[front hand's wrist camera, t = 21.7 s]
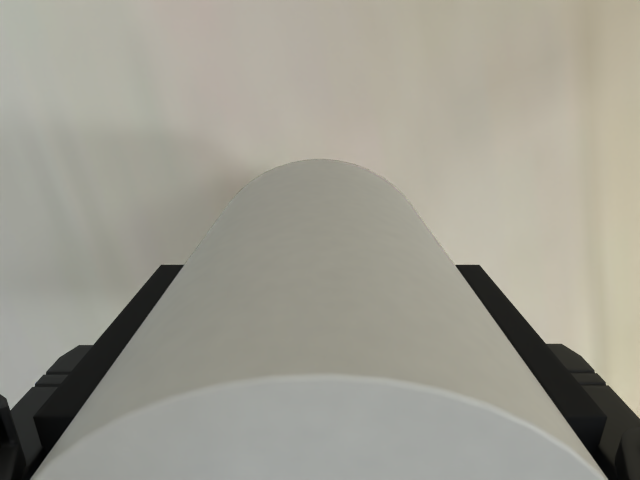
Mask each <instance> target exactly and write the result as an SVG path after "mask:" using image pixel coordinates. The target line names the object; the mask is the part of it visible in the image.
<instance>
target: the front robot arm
mask: <svg viewBox="0 0 640 480" xmlns="http://www.w3.org/2000/svg"><path fill="white" fill-rule="evenodd" d="M183 266H184V265H161V266H160V267H159V268H158V269H157V270H156V271H155V273H154V274H153V275H152V276H151V277H150V279H149V280H148V281H147V282H146V283H145V285H144V286H143V287H142V288H141V289H140V290H139V292H138V293H137V294H136V295H135V296H134V298H133V299H132V300H131V301H130V302H129V304H128V305H127V306H126V307H125V308H124V309H123V311H122V312H121V313H120V314H119V315H118V317H117V318H116V319H115V320H114V321H113V322H112V324H111V325H110V326H109V327H108V328H107V330H106V331H105V332H104V333H103V334H102V336H101V337H100V338H99V339H98V340H97V341H96V343H95V344H94V345H79V346H77V347H75V348H74V349H72V350H71V351H69V352H68V353H66V354H64V355H63V356H61V357H60V358H59V359H58V360H57V361H56V362H55V363H54V364H53V365H52V366H51V367H50V368H49V369H48V371H47V372H46V375H43V376H42V377H41V378H40V379H39V380H38V381H37V382H36V384H35V387H32V388H31V389H30V390H29V391H28V392H27V393H26V394H25V395H24V396H23V398H22V399H21V400H20V401H19V402H18V403H17V404H16V405H15V406H14V407H13V408H12V409H11V411H10V409H9V406H8V403H7V399H6V398H5V397H3V396H2V395H0V480H30V479H31V477H32V476H33V475H34V473H35V472H36V470H37V469H38V468H39V466H40V465H41V464H42V462H43V461H44V459H45V458H46V457H47V455H48V454H49V452H50V451H51V450H52V448H53V447H54V445H55V444H56V443H57V441H58V440H59V439H60V437H61V436H62V434H63V433H64V432H65V430H66V429H67V427H68V426H69V425H70V423H71V422H72V420H73V419H74V418H75V416H76V415H77V413H78V412H79V411H80V409H81V408H82V407H83V405H84V404H85V402H86V401H87V400H88V398H89V397H90V395H91V394H92V393H93V391H94V390H95V388H96V387H97V386H98V384H99V383H100V382H101V380H102V379H103V377H104V376H105V375H106V373H107V372H108V370H109V369H110V368H111V366H112V365H113V363H114V362H115V361H116V359H117V358H118V356H119V355H120V354H121V352H122V351H123V350H124V348H125V347H126V345H127V344H128V343H129V341H130V340H131V338H132V337H133V336H134V334H135V333H136V331H137V330H138V329H139V327H140V326H141V325H142V323H143V322H144V320H145V319H146V318H147V316H148V315H149V313H150V312H151V311H152V309H153V308H154V306H155V305H156V304H157V302H158V301H159V299H160V298H161V297H162V295H163V294H164V293H165V291H166V290H167V288H168V287H169V286H170V284H171V283H172V281H173V280H174V279H175V277H176V276H177V274H178V273H179V272H180V270H181V269H182V268H183ZM455 266H456V267H457V269H458V270H459V271H460V273H461V274H462V276H463V277H464V278H465V280H466V281H467V283H468V284H469V285H470V287H471V288H472V290H473V291H474V292H475V294H476V295H477V297H478V298H479V299H480V301H481V302H482V304H483V305H484V306H485V308H486V309H487V311H488V312H489V313H490V315H491V316H492V318H493V319H494V320H495V322H496V323H497V325H498V326H499V327H500V329H501V330H502V332H503V333H504V334H505V336H506V337H507V339H508V340H509V341H510V343H511V344H512V346H513V347H514V348H515V350H516V351H517V353H518V354H519V355H520V357H521V358H522V360H523V361H524V362H525V364H526V365H527V367H528V368H529V369H530V371H531V372H532V374H533V375H534V376H535V378H536V379H537V381H538V382H539V383H540V385H541V386H542V388H543V389H544V390H545V392H546V393H547V395H548V396H549V397H550V399H551V400H552V402H553V403H554V404H555V406H556V407H557V409H558V410H559V411H560V413H561V414H562V416H563V417H564V418H565V420H566V421H567V423H568V424H569V425H570V427H571V428H572V430H573V431H574V432H575V434H576V435H577V437H578V438H579V439H580V441H581V442H582V444H583V445H584V446H585V448H586V449H587V451H588V452H589V453H590V455H591V456H592V457H593V459H594V460H595V462H596V463H597V464H598V466H599V467H600V469H601V470H602V471H603V473H604V474H605V476H606V477H607V478H608V480H640V419H639V418H638V417H637V416H636V414H635V413H634V412H633V411H632V410H631V409H630V408H629V407H628V406H627V405H626V404H625V403H624V402H623V401H622V399H621V398H620V397H619V396H618V395H617V394H616V393H615V392H614V391H613V390H612V389H611V388H610V387H609V386H606V382H605V381H604V380H603V379H602V378H601V377H600V376H599V375H598V374H597V373H595V372H594V369H593V368H592V367H591V366H590V365H589V364H588V363H587V362H586V361H585V360H584V359H583V358H582V357H581V356H580V355H578V354H577V353H575V352H574V351H572V350H571V349H569V348H567V347H566V346H564V345H563V344H546V343H545V342H544V341H543V340H542V339H541V338H540V336H539V335H538V334H537V333H536V332H535V330H534V329H533V328H532V327H531V326H530V324H529V323H528V322H527V321H526V320H525V319H524V317H523V316H522V315H521V314H520V313H519V311H518V310H517V309H516V308H515V307H514V306H513V304H512V303H511V302H510V301H509V300H508V298H507V297H506V296H505V295H504V294H503V292H502V291H501V290H500V289H499V288H498V287H497V285H496V284H495V283H494V282H493V281H492V279H491V278H490V277H489V276H488V275H487V274H486V272H485V271H484V270H483V269H482V268H481V266H480V265H455Z"/></svg>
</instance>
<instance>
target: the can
mask: <svg viewBox="0 0 640 480" xmlns="http://www.w3.org/2000/svg"><path fill="white" fill-rule="evenodd" d="M30 480H608V478H607V477H606V476H605V474H604V473H603V471H602V470H601V469H600V467H599V466H598V464H597V463H596V462H595V460H594V459H593V457H592V456H591V455H590V453H589V452H588V451H587V449H586V448H585V446H584V445H583V444H582V442H581V441H580V439H579V438H578V437H577V435H576V434H575V432H574V431H573V430H572V428H571V427H570V425H569V424H568V423H567V421H566V420H565V418H564V417H563V416H562V414H561V413H560V411H559V410H558V409H557V407H556V406H555V404H554V403H553V402H552V400H551V399H550V397H549V396H548V395H547V393H546V392H545V390H544V389H543V388H542V386H541V385H540V383H539V382H538V381H537V379H536V378H535V376H534V375H533V374H532V372H531V371H530V369H529V368H528V367H527V365H526V364H525V362H524V361H523V360H522V358H521V357H520V355H519V354H518V353H517V351H516V350H515V348H514V347H513V346H512V344H511V343H510V341H509V340H508V339H507V337H506V336H505V334H504V333H503V332H502V330H501V329H500V327H499V326H498V325H497V323H496V322H495V320H494V319H493V318H492V316H491V315H490V313H489V312H488V311H487V309H486V308H485V306H484V305H483V304H482V302H481V301H480V299H479V298H478V297H477V295H476V294H475V292H474V291H473V290H472V288H471V287H470V285H469V284H468V283H467V281H466V280H465V278H464V277H463V276H462V274H461V273H460V271H459V270H458V269H457V267H456V266H455V264H454V263H453V262H452V260H451V259H450V257H449V256H448V255H447V253H446V252H445V250H444V249H443V248H442V246H441V245H440V243H439V242H438V241H437V239H436V238H435V237H434V235H433V234H432V232H431V231H430V230H429V228H428V227H427V225H426V224H425V223H424V221H423V220H422V218H421V217H420V216H419V214H418V213H417V211H416V210H415V209H414V207H413V206H412V205H411V203H410V202H409V201H408V199H407V198H406V197H405V196H404V195H403V194H402V193H401V192H400V191H399V190H398V189H397V188H396V187H395V186H394V185H393V184H391V183H390V182H388V181H387V180H386V179H384V178H383V177H382V176H380V175H378V174H376V173H374V172H372V171H370V170H368V169H366V168H363V167H360V166H358V165H355V164H351V163H347V162H343V161H338V160H327V159H314V160H303V161H297V162H291V163H288V164H285V165H282V166H279V167H276V168H274V169H272V170H269V171H267V172H265V173H263V174H261V175H260V176H258V177H257V178H255V179H254V180H252V181H251V182H249V183H248V184H247V185H246V186H245V187H244V188H242V189H241V190H240V191H239V192H238V193H237V194H236V195H235V196H234V198H233V199H232V200H231V201H230V202H229V204H228V205H227V206H226V208H225V209H224V211H223V212H222V213H221V215H220V216H219V217H218V219H217V220H216V222H215V223H214V224H213V226H212V227H211V229H210V230H209V231H208V233H207V234H206V236H205V237H204V238H203V240H202V241H201V242H200V244H199V245H198V247H197V248H196V249H195V251H194V252H193V254H192V255H191V256H190V258H189V259H188V261H187V262H186V263H185V265H184V266H183V268H182V269H181V270H180V272H179V273H178V274H177V276H176V277H175V279H174V280H173V281H172V283H171V284H170V286H169V287H168V288H167V290H166V291H165V293H164V294H163V295H162V297H161V298H160V299H159V301H158V302H157V304H156V305H155V306H154V308H153V309H152V311H151V312H150V313H149V315H148V316H147V318H146V319H145V320H144V322H143V323H142V325H141V326H140V327H139V329H138V330H137V331H136V333H135V334H134V336H133V337H132V338H131V340H130V341H129V343H128V344H127V345H126V347H125V348H124V350H123V351H122V352H121V354H120V355H119V356H118V358H117V359H116V361H115V362H114V363H113V365H112V366H111V368H110V369H109V370H108V372H107V373H106V375H105V376H104V377H103V379H102V380H101V382H100V383H99V384H98V386H97V387H96V388H95V390H94V391H93V393H92V394H91V395H90V397H89V398H88V400H87V401H86V402H85V404H84V405H83V407H82V408H81V409H80V411H79V412H78V413H77V415H76V416H75V418H74V419H73V420H72V422H71V423H70V425H69V426H68V427H67V429H66V430H65V432H64V433H63V434H62V436H61V437H60V439H59V440H58V441H57V443H56V444H55V445H54V447H53V448H52V450H51V451H50V452H49V454H48V455H47V457H46V458H45V459H44V461H43V462H42V464H41V465H40V466H39V468H38V469H37V470H36V472H35V473H34V475H33V476H32V477H31V479H30Z"/></svg>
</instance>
